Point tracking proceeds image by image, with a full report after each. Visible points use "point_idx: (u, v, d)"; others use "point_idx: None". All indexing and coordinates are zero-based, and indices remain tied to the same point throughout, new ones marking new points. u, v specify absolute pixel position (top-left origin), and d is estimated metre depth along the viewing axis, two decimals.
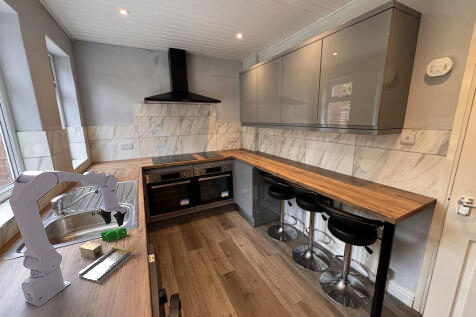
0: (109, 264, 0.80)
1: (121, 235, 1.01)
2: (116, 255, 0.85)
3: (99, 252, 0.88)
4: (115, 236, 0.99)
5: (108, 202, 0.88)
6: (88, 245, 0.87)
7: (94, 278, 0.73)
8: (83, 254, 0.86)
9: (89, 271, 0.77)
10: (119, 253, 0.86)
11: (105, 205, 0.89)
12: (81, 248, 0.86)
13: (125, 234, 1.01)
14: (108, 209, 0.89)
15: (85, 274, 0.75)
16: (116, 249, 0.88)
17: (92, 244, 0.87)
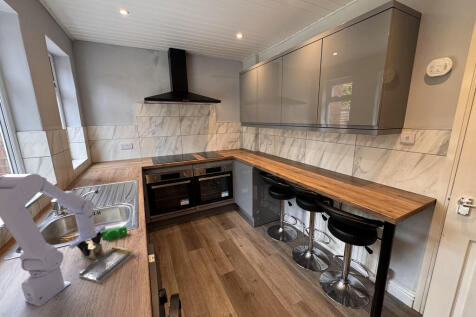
0: (109, 264, 0.80)
1: (121, 234, 1.01)
2: (116, 255, 0.85)
3: (99, 252, 0.88)
4: (115, 235, 1.00)
5: None
6: (88, 245, 0.87)
7: (94, 278, 0.73)
8: (83, 254, 0.86)
9: (89, 271, 0.77)
10: (119, 253, 0.86)
11: None
12: None
13: (125, 233, 1.02)
14: None
15: (85, 274, 0.75)
16: (116, 249, 0.88)
17: (92, 244, 0.87)
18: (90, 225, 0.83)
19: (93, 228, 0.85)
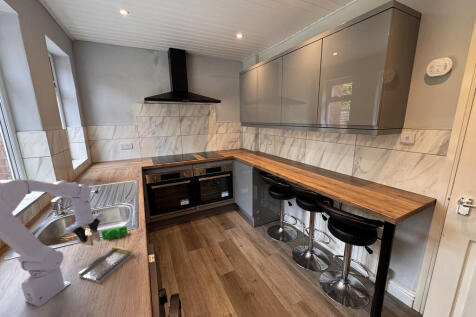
0: (109, 264, 0.80)
1: (121, 234, 1.02)
2: (116, 255, 0.85)
3: (96, 239, 0.86)
4: (116, 235, 1.00)
5: None
6: (85, 231, 0.85)
7: (94, 278, 0.73)
8: (80, 241, 0.85)
9: (89, 271, 0.77)
10: (119, 253, 0.86)
11: None
12: None
13: (125, 233, 1.03)
14: None
15: (85, 274, 0.75)
16: (116, 249, 0.88)
17: (89, 230, 0.86)
18: (87, 210, 0.82)
19: (90, 214, 0.84)
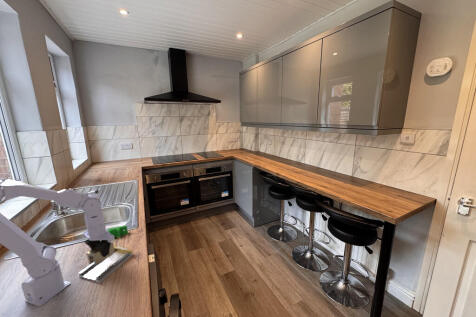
0: (109, 264, 0.80)
1: (122, 233, 1.02)
2: (116, 255, 0.85)
3: None
4: (116, 234, 1.01)
5: (93, 229, 0.73)
6: (98, 248, 0.77)
7: (94, 278, 0.73)
8: (99, 260, 0.75)
9: (89, 271, 0.77)
10: (119, 253, 0.86)
11: (89, 233, 0.73)
12: (97, 254, 0.74)
13: (126, 232, 1.03)
14: (93, 238, 0.73)
15: (85, 274, 0.75)
16: (116, 249, 0.88)
17: None
18: (93, 226, 0.73)
19: None
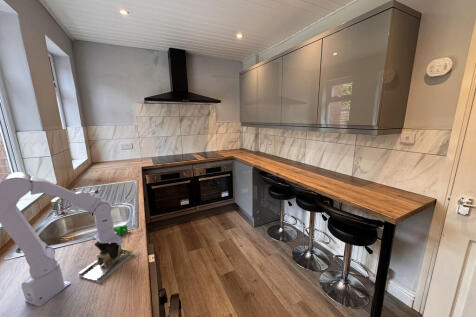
0: None
1: (122, 232, 1.03)
2: None
3: None
4: None
5: (103, 233, 0.77)
6: (107, 250, 0.80)
7: (94, 278, 0.73)
8: (108, 262, 0.79)
9: (89, 271, 0.77)
10: None
11: (99, 236, 0.77)
12: (106, 256, 0.78)
13: (126, 231, 1.04)
14: (103, 240, 0.77)
15: (85, 274, 0.75)
16: None
17: (107, 249, 0.81)
18: (104, 230, 0.77)
19: None
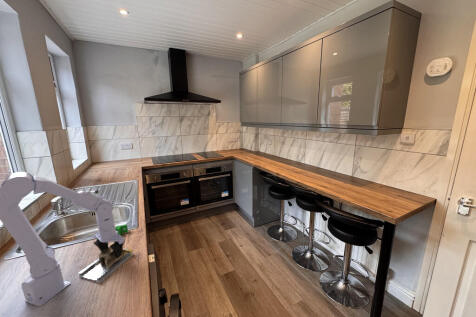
0: None
1: (122, 232, 1.04)
2: None
3: None
4: None
5: (104, 232, 0.77)
6: (108, 250, 0.81)
7: (94, 278, 0.73)
8: (110, 261, 0.80)
9: (89, 271, 0.77)
10: None
11: (101, 235, 0.78)
12: (108, 255, 0.79)
13: (126, 231, 1.04)
14: (104, 239, 0.78)
15: (85, 274, 0.75)
16: None
17: (109, 248, 0.82)
18: (106, 229, 0.77)
19: None
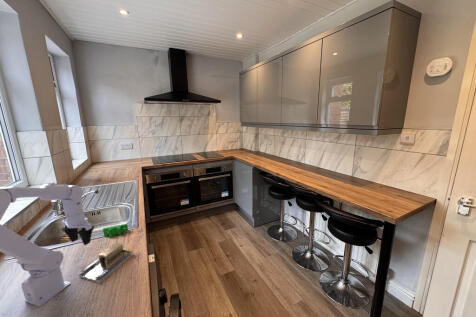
0: None
1: (122, 231, 1.04)
2: None
3: None
4: (117, 232, 1.02)
5: (71, 217, 0.77)
6: (108, 250, 0.81)
7: (94, 278, 0.73)
8: (110, 261, 0.80)
9: (89, 271, 0.77)
10: None
11: (67, 221, 0.77)
12: (108, 255, 0.79)
13: (126, 230, 1.05)
14: (71, 225, 0.77)
15: (85, 274, 0.75)
16: None
17: (109, 248, 0.82)
18: (79, 212, 0.78)
19: None
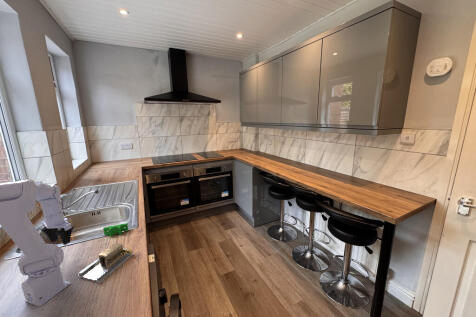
0: None
1: (123, 230, 1.05)
2: None
3: None
4: (117, 231, 1.03)
5: (49, 218, 0.77)
6: (108, 250, 0.81)
7: (94, 278, 0.73)
8: (110, 261, 0.80)
9: (89, 271, 0.77)
10: None
11: (46, 221, 0.77)
12: (108, 255, 0.79)
13: (126, 229, 1.06)
14: (50, 225, 0.77)
15: (85, 274, 0.75)
16: None
17: (109, 248, 0.82)
18: (61, 211, 0.80)
19: None
